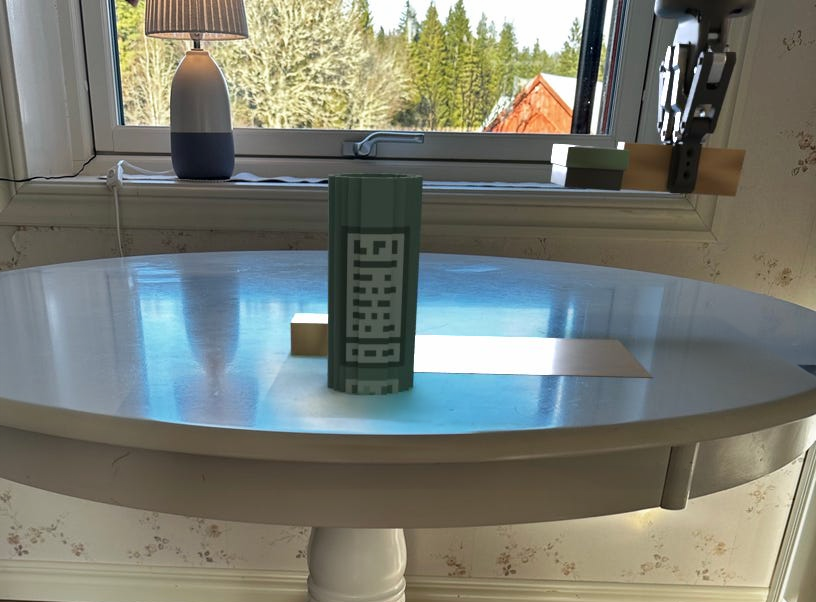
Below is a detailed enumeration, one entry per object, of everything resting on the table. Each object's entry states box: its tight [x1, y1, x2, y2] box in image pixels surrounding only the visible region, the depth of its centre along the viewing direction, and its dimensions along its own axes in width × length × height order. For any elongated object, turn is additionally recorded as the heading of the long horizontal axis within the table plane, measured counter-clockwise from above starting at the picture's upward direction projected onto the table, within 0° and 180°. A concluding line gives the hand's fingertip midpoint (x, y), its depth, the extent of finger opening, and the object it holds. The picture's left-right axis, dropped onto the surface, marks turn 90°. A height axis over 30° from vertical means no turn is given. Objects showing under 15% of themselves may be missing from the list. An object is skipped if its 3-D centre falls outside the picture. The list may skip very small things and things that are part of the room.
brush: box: [550, 141, 747, 197], centre depth 80 cm, size 15×8×4 cm, turn 87°
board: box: [414, 334, 654, 379], centre depth 78 cm, size 20×14×2 cm
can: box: [326, 172, 424, 396], centre depth 66 cm, size 6×6×15 cm
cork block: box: [289, 313, 328, 357], centre depth 78 cm, size 4×4×4 cm
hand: (675, 191), depth 81 cm, fingers closed on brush, 2 cm apart
